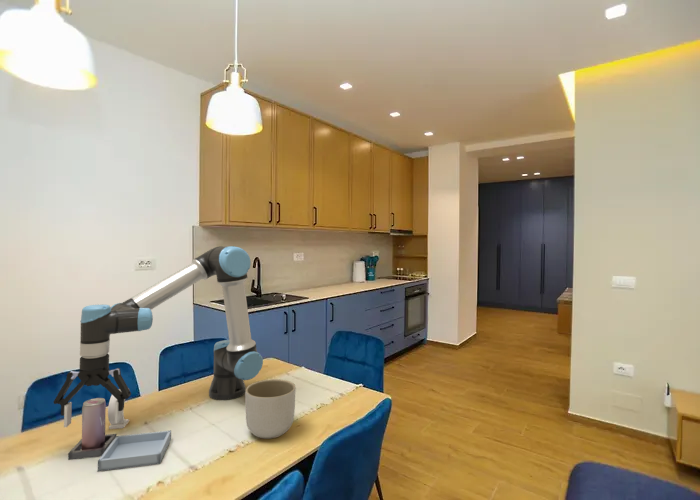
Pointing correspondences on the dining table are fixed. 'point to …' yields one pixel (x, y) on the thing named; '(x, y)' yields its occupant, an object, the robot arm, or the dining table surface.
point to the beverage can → (93, 423)
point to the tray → (135, 450)
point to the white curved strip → (111, 415)
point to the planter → (270, 407)
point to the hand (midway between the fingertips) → (92, 423)
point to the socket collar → (79, 454)
